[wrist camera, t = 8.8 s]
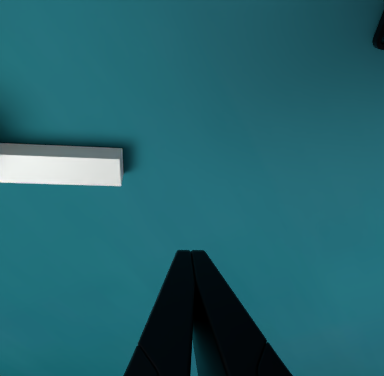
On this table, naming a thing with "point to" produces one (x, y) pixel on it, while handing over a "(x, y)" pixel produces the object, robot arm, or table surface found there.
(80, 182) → the collar track
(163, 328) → the robot arm
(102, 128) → the table surface
